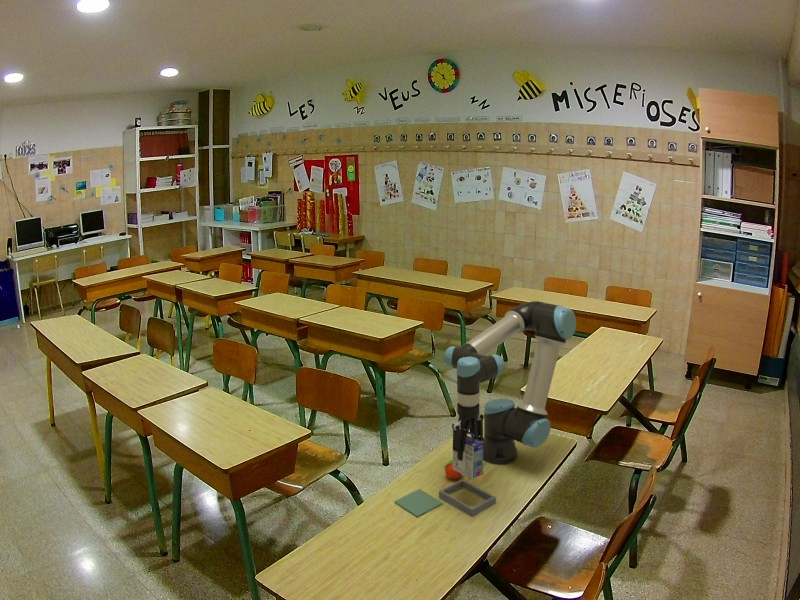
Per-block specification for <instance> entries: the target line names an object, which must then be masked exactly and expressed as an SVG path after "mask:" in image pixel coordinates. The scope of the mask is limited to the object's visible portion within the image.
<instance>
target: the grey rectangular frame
mask: <svg viewBox="0 0 800 600" xmlns="http://www.w3.org/2000/svg"><path fill="white" fill-rule="evenodd" d="M462 488H463V489H465V490H467V491H469V492H471V493H472V494H473V495H476V496H478V497H479V498H481V499H483V500H484V501H482V502H480V503H478V504H476V505H475V506H473V507H472V506H469V505H468V504H466V503H464V502H462V501H461V500H460V499H457V498H455V497H454V496H452V495H451V494H453V493H455V492H456V491H458V490H460V489H462ZM438 498H440V499H441V500H443V501H444V502H446V503H448V504H449V505H452V506H453V507H454V508H457V509H458V510H459V511H461V512H463V513H464V514H466V515H469V516H470V517H471V518H473V517H474V516H477V515H478V514H479V513H482V512H483V511H485V510H487V509H489V508H490V507H492V506H494V505H495V504H496V501H497V497H496V496H494V495H493V494H491V493H489V492H487V491H486V490H484V489H482V488H480V487H478V486H476V485H475V484H472V483H470V482H469V481H467V480H465V479H463V478H462V479H460V480H458V481H456V482H454V483H452V484H450V485H448V486H446V487H444V488H443V489H442V488H441V489H440V490H438Z"/></svg>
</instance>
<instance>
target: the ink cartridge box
mask: <svg viewBox="0 0 800 600" xmlns="http://www.w3.org/2000/svg"><path fill="white" fill-rule="evenodd" d="M471 435H472V438H471ZM474 435H475V434H473V433H471V432H470V431H469V433H467V437H466V442H465V447H464V451H465V452H466V469H462V468H460V467H458V459H457V452H456V451H454V450H453V449H452V460H453V470H455V471H457V472H459V473H461V474H462V475H464V476H466V477H468V478H470V479H472V480H474V479H476V478H479V477H481V476H482V475H484V460H483V442H482V441H479V440H476V439H474Z"/></svg>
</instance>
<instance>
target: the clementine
mask: <svg viewBox="0 0 800 600" xmlns="http://www.w3.org/2000/svg"><path fill="white" fill-rule="evenodd" d="M442 470H444V472H445V475H446V476H447V478H449V479H453V480H457V479H459V478H460V477H461V476H463V474H461V473H459V472H457V471H455V470H453V459H450V460H448V461H447V463H445V464H444V466H443V469H442Z"/></svg>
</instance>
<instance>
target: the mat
mask: <svg viewBox="0 0 800 600" xmlns="http://www.w3.org/2000/svg"><path fill="white" fill-rule="evenodd" d="M394 504H395V505H397V506H398V507H401V508H402V509H404V510H405V511H407V512H408V513H409V514H411V515H412V516H414V517H415V518H419V517H421V516H423V515H426V514H427V513H429V512H431V511H432V510H434V509H436V508H438V507H440V506H443V504H444V502H442V501H441V500H439V499H437V498H436V497H434V496H432V495H431V494H429V493H427V492H426V491H424V490H422V489H421V488H418V489H415V490H414V491H412V492H410V493H408V494H406V495H404V496H402V497H400V498H399V499H396V500H394Z"/></svg>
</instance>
